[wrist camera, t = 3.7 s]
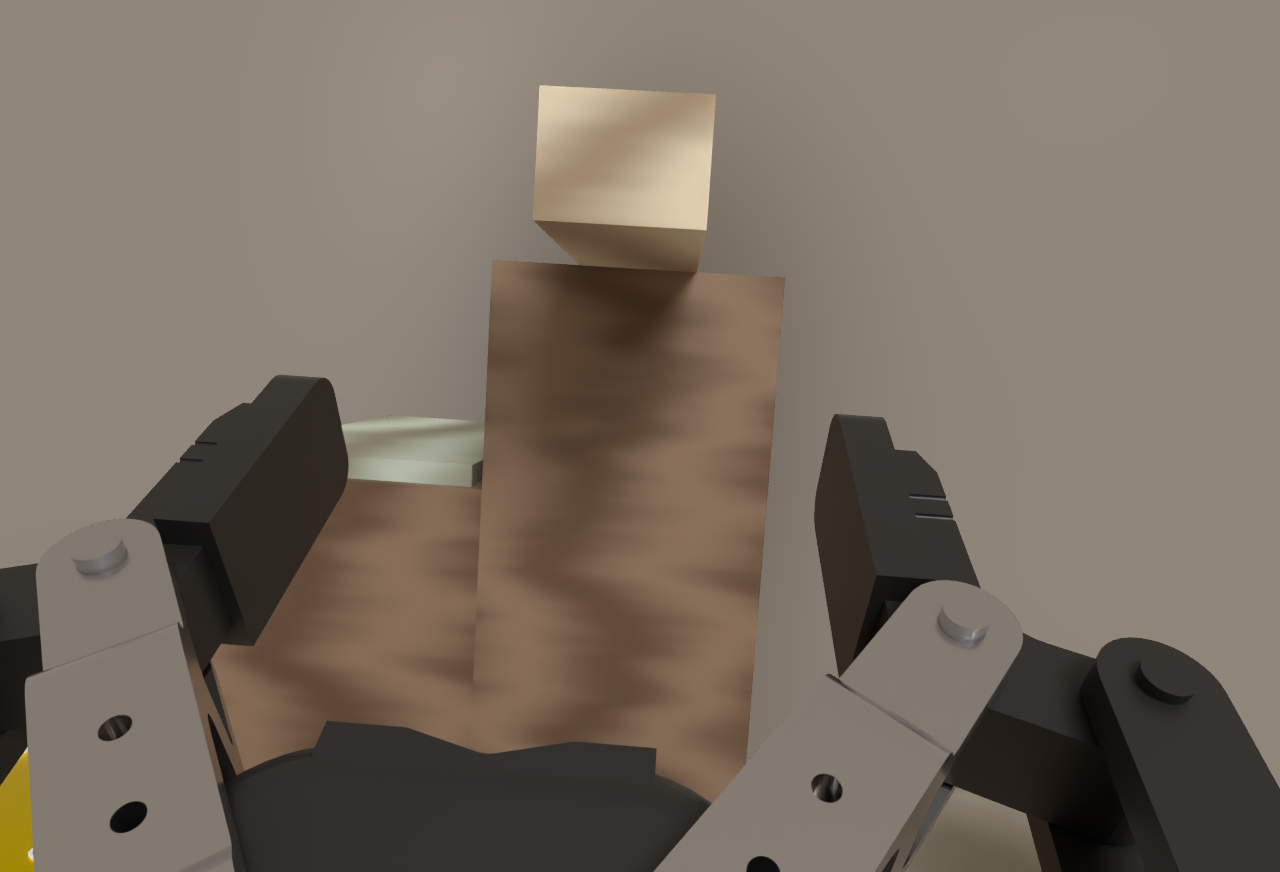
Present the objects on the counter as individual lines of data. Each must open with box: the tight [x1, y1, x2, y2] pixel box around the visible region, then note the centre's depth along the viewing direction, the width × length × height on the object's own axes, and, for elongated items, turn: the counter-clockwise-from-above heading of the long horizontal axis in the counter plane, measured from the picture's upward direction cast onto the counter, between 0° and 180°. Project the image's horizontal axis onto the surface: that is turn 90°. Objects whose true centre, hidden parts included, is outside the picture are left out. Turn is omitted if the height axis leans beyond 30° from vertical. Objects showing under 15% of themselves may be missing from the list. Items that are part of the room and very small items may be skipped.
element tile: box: [0, 747, 34, 872], centre depth 45 cm, size 15×15×5 cm
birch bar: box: [533, 85, 716, 272], centre depth 31 cm, size 4×26×3 cm, turn 177°
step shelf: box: [211, 260, 785, 803], centre depth 38 cm, size 20×18×32 cm
